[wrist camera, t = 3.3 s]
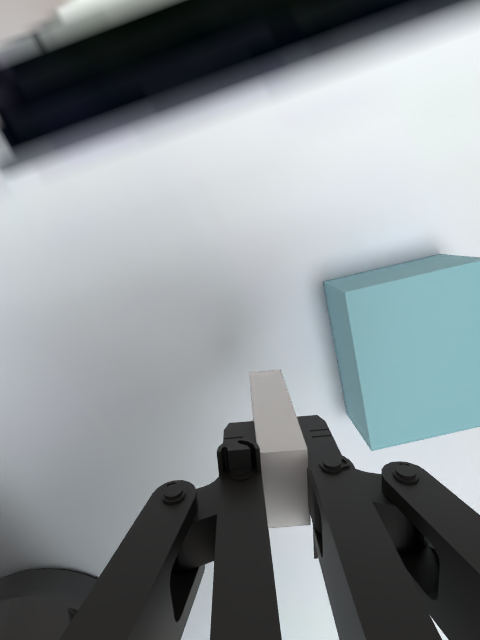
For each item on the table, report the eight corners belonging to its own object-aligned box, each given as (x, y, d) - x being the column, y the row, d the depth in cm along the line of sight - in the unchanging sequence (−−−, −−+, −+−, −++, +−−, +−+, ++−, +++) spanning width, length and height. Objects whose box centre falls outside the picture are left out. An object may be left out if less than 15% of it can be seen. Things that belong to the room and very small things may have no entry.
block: (345, 412, 27) (371, 451, 22) (321, 281, 25) (344, 292, 20) (452, 388, 27) (501, 421, 22) (438, 253, 25) (489, 258, 20)
